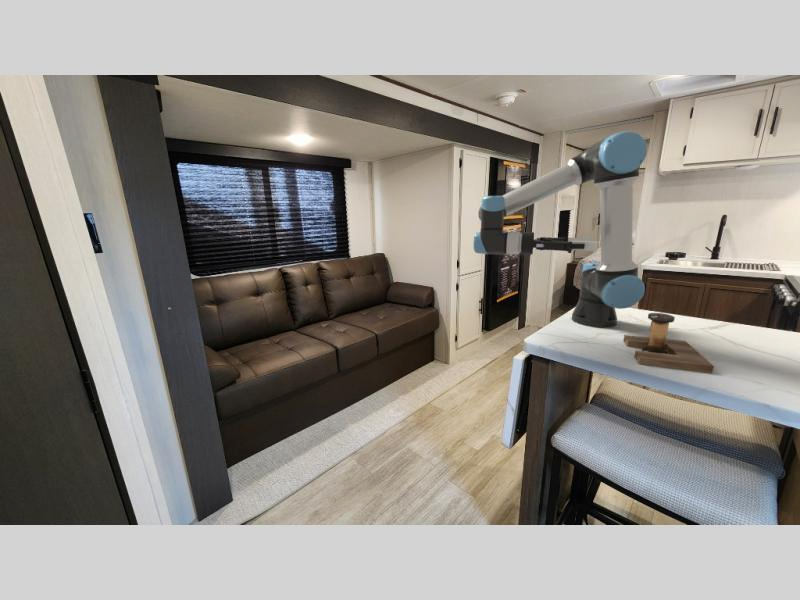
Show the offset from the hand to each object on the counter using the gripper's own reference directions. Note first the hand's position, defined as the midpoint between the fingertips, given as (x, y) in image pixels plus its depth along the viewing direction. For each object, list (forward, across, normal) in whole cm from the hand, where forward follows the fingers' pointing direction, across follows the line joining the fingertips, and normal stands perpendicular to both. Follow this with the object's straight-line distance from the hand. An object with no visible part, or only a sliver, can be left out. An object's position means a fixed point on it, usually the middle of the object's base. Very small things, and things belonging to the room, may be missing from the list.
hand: (593, 243), depth 100 cm
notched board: (+21, +6, -32) cm, 39 cm away
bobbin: (+19, +6, -32) cm, 37 cm away
